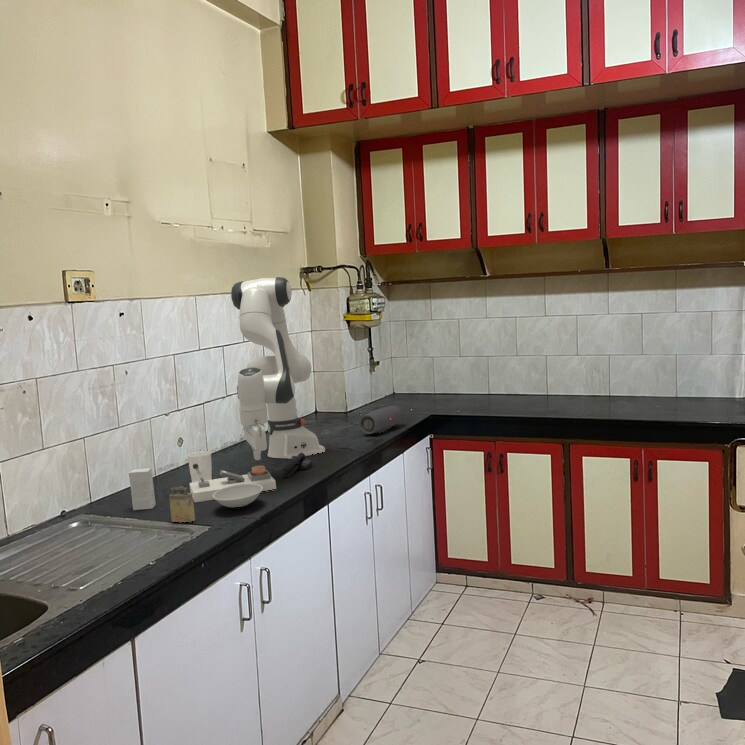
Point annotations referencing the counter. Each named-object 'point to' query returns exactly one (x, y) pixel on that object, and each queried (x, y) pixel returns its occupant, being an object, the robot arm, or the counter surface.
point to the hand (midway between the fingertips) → (257, 459)
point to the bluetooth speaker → (380, 420)
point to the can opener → (296, 464)
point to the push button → (258, 470)
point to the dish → (237, 495)
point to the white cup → (200, 465)
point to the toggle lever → (198, 472)
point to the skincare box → (142, 489)
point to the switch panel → (209, 487)
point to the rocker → (232, 475)
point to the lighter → (181, 505)
